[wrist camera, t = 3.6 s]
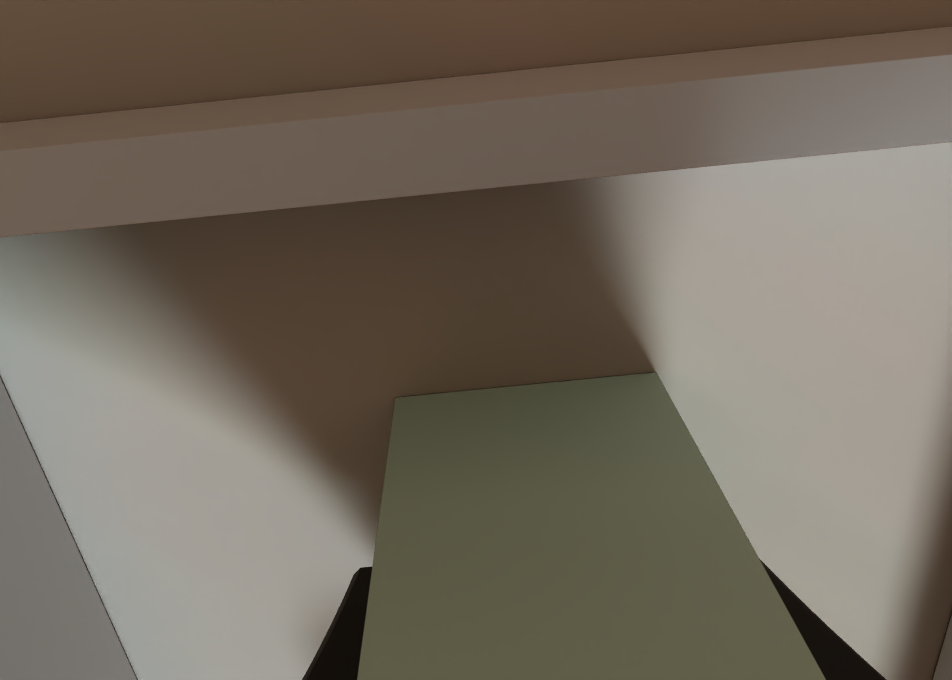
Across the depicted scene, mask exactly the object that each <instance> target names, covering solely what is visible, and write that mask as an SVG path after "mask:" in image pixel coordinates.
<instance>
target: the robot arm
mask: <svg viewBox="0 0 952 680" xmlns="http://www.w3.org/2000/svg"><path fill="white" fill-rule="evenodd" d="M760 561H761V560H760ZM761 563H762V565H763V567H764V568H765V570H766V572H767V574H768V576H769V577H770V579H771V581H772V583H773V585H774V587H775V588H776V590H777V592H778V594H779V596H780V597H781V599H782V601H783V603H784V605H785V607H786V608H787V610H788V612H789V614H790V616H791V617H792V619H793V621H794V623H795V625H796V626H797V628H798V630H799V632H800V634H801V636H802V637H803V639H804V641H805V643H806V645H807V646H808V648H809V650H810V652H811V654H812V655H813V657H814V659H815V661H816V663H817V665H818V666H819V668H820V670H821V672H822V674H823V675H824V677H825V679H826V680H886V679H885V678H884V677H883V676H882V675H881V674H879V673H878V672H877V671H876V670H875V669H874V668H873V667H872V666H870V665H869V664H868V663H867V662H866V661H865V660H864V659H863V658H862V657H861V656H860V655H859V654H857V653H856V652H855V651H854V650H853V649H852V648H851V647H850V646H849V645H848V644H847V643H846V642H844V641H843V640H842V639H841V638H840V637H839V636H838V635H837V634H836V633H835V632H834V631H833V630H831V629H830V628H829V627H828V626H827V625H826V624H825V623H824V622H823V621H822V620H821V619H820V618H819V617H818V616H817V615H816V614H815V613H814V612H812V611H811V610H810V609H809V608H808V607H807V606H806V605H805V604H804V603H803V602H802V601H801V600H800V599H799V598H798V597H797V596H796V595H795V594H794V593H793V592H792V591H791V590H790V589H789V588H788V587H787V586H786V585H785V584H784V583H783V582H782V581H781V580H780V579H779V578H778V577H777V576H776V575H775V574H774V573H773V572H772V571H771V570H770V569H769V568H768V567H767V566H766V565H765V564H764V563H763V562H762V561H761ZM371 574H372V567H363V568H360V569H359V570H358V571H357V572H356V573H355V574H354V575H353V578H352V580H351V582H350V585H349V587H348V589H347V592H346V594H345V596H344V598H343V600H342V603H341V605H340V607H339V609H338V611H337V613H336V615H335V618H334V620H333V622H332V624H331V626H330V628H329V630H328V632H327V634H326V636H325V638H324V640H323V642H322V644H321V646H320V648H319V650H318V651H317V653H316V655H315V657H314V659H313V661H312V663H311V665H310V666H309V668H308V670H307V672H306V674H305V675H304V677H303V679H302V680H357V678H358V670H359V663H360V655H361V648H362V641H363V633H364V626H365V618H366V611H367V604H368V596H369V589H370V581H371Z"/></svg>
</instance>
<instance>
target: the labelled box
mask: <svg viewBox="0 0 952 680" xmlns="http://www.w3.org/2000/svg"><path fill="white" fill-rule="evenodd" d="M357 680H826V679H825V677H824V675H823V674H822V672H821V670H820V668H819V666H818V665H817V663H816V661H815V659H814V657H813V655H812V654H811V652H810V650H809V648H808V646H807V645H806V643H805V641H804V639H803V637H802V636H801V634H800V632H799V630H798V628H797V626H796V625H795V623H794V621H793V619H792V617H791V616H790V614H789V612H788V610H787V608H786V607H785V605H784V603H783V601H782V599H781V597H780V596H779V594H778V592H777V590H776V588H775V587H774V585H773V583H772V581H771V579H770V577H769V576H768V574H767V572H766V570H765V568H764V567H763V565H762V563H761V561H760V559H759V558H758V556H757V554H756V552H755V550H754V548H753V547H752V545H751V543H750V541H749V539H748V538H747V536H746V534H745V532H744V530H743V529H742V527H741V525H740V523H739V521H738V519H737V518H736V516H735V514H734V512H733V510H732V509H731V507H730V505H729V503H728V501H727V500H726V498H725V496H724V494H723V492H722V490H721V489H720V487H719V485H718V483H717V481H716V480H715V478H714V476H713V474H712V472H711V471H710V469H709V467H708V465H707V463H706V461H705V460H704V458H703V456H702V454H701V452H700V451H699V449H698V447H697V445H696V443H695V442H694V440H693V438H692V436H691V434H690V432H689V431H688V429H687V427H686V425H685V423H684V422H683V420H682V418H681V416H680V414H679V412H678V411H677V409H676V407H675V405H674V403H673V402H672V400H671V398H670V396H669V394H668V393H667V391H666V389H665V387H664V385H663V383H662V382H661V380H660V378H659V376H658V374H657V373H656V372H654V373H644V374H634V375H624V376H613V377H603V378H593V379H582V380H572V381H562V382H552V383H541V384H531V385H521V386H511V387H500V388H490V389H480V390H469V391H459V392H449V393H439V394H428V395H418V396H408V397H397V398H395V404H394V411H393V419H392V426H391V434H390V441H389V448H388V456H387V463H386V471H385V478H384V485H383V493H382V500H381V507H380V515H379V522H378V530H377V537H376V544H375V552H374V559H373V567H372V574H371V581H370V589H369V596H368V604H367V611H366V618H365V626H364V633H363V641H362V648H361V655H360V663H359V670H358V678H357Z"/></svg>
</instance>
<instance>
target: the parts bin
mask: <svg viewBox="0 0 952 680" xmlns="http://www.w3.org/2000/svg"><path fill="white" fill-rule="evenodd" d="M947 142H952V26H950V27H940V28H930V29H920V30H910V31H900V32H891V33H881V34H871V35H861V36H851V37H841V38H832V39H822V40H812V41H802V42H792V43H783V44H773V45H763V46H753V47H743V48H733V49H724V50H714V51H704V52H694V53H684V54H674V55H665V56H655V57H645V58H635V59H625V60H615V61H606V62H596V63H586V64H576V65H566V66H556V67H547V68H537V69H527V70H517V71H507V72H498V73H488V74H478V75H468V76H458V77H448V78H439V79H429V80H419V81H409V82H399V83H389V84H380V85H370V86H360V87H350V88H340V89H330V90H321V91H311V92H301V93H291V94H281V95H272V96H262V97H252V98H242V99H232V100H222V101H213V102H203V103H193V104H183V105H173V106H163V107H154V108H144V109H134V110H124V111H114V112H104V113H95V114H85V115H75V116H65V117H55V118H45V119H36V120H26V121H16V122H6V123H0V237H8V236H17V235H27V234H37V233H47V232H57V231H67V230H77V229H87V228H97V227H107V226H117V225H127V224H137V223H147V222H157V221H167V220H177V219H187V218H197V217H207V216H217V215H227V214H237V213H247V212H257V211H267V210H277V209H287V208H297V207H307V206H317V205H327V204H337V203H347V202H357V201H367V200H377V199H387V198H397V197H407V196H417V195H427V194H437V193H447V192H457V191H467V190H477V189H487V188H497V187H507V186H517V185H527V184H537V183H547V182H557V181H567V180H577V179H587V178H597V177H607V176H617V175H627V174H637V173H647V172H657V171H667V170H677V169H687V168H697V167H707V166H717V165H727V164H737V163H747V162H757V161H767V160H777V159H787V158H797V157H807V156H817V155H827V154H837V153H847V152H857V151H867V150H877V149H887V148H897V147H907V146H917V145H927V144H937V143H947ZM0 680H137V679H136V677H135V675H134V672H133V670H132V668H131V666H130V664H129V661H128V659H127V657H126V655H125V652H124V650H123V648H122V646H121V644H120V641H119V639H118V637H117V635H116V633H115V630H114V628H113V626H112V624H111V621H110V619H109V617H108V615H107V613H106V610H105V608H104V606H103V604H102V602H101V599H100V597H99V595H98V593H97V591H96V588H95V586H94V584H93V582H92V579H91V577H90V575H89V573H88V571H87V568H86V566H85V564H84V562H83V560H82V557H81V555H80V553H79V551H78V548H77V546H76V544H75V542H74V540H73V537H72V535H71V533H70V531H69V529H68V526H67V524H66V522H65V520H64V518H63V515H62V513H61V511H60V509H59V506H58V504H57V502H56V500H55V498H54V495H53V493H52V491H51V489H50V487H49V484H48V482H47V480H46V478H45V475H44V473H43V471H42V469H41V467H40V464H39V462H38V460H37V458H36V456H35V453H34V451H33V449H32V447H31V445H30V442H29V440H28V438H27V436H26V433H25V431H24V429H23V427H22V425H21V422H20V420H19V418H18V416H17V414H16V411H15V409H14V407H13V405H12V402H11V400H10V398H9V396H8V394H7V391H6V389H5V387H4V385H3V383H2V380H1V378H0ZM933 680H952V616H951V619H950V622H949V626H948V629H947V633H946V636H945V640H944V643H943V647H942V650H941V653H940V657H939V660H938V664H937V667H936V671H935V674H934V677H933Z"/></svg>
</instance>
